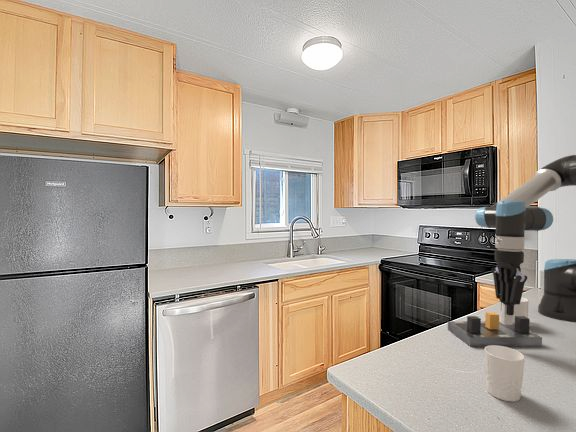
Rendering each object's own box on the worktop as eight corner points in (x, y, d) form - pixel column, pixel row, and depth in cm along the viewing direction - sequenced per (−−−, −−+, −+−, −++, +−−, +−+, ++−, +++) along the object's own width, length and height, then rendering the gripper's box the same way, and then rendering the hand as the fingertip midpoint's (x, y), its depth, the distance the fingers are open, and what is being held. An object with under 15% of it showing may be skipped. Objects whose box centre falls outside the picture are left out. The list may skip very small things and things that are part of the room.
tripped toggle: (493, 326, 109) (494, 312, 108) (498, 329, 106) (499, 314, 106) (485, 326, 109) (485, 312, 108) (489, 329, 106) (490, 314, 106)
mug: (509, 318, 126) (510, 292, 126) (535, 324, 120) (535, 297, 119) (496, 324, 119) (497, 297, 119) (522, 331, 113) (523, 303, 112)
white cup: (476, 384, 79) (477, 345, 79) (505, 383, 80) (506, 344, 79) (500, 404, 71) (500, 361, 71) (532, 402, 72) (533, 359, 72)
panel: (510, 329, 115) (511, 307, 114) (541, 346, 101) (542, 321, 100) (447, 329, 115) (448, 307, 114) (469, 346, 101) (470, 321, 100)
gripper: (484, 246, 106) (482, 316, 106) (511, 252, 93) (509, 331, 93) (506, 247, 106) (504, 316, 106) (537, 252, 93) (534, 332, 93)
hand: (506, 323), depth 100 cm, fingers closed
